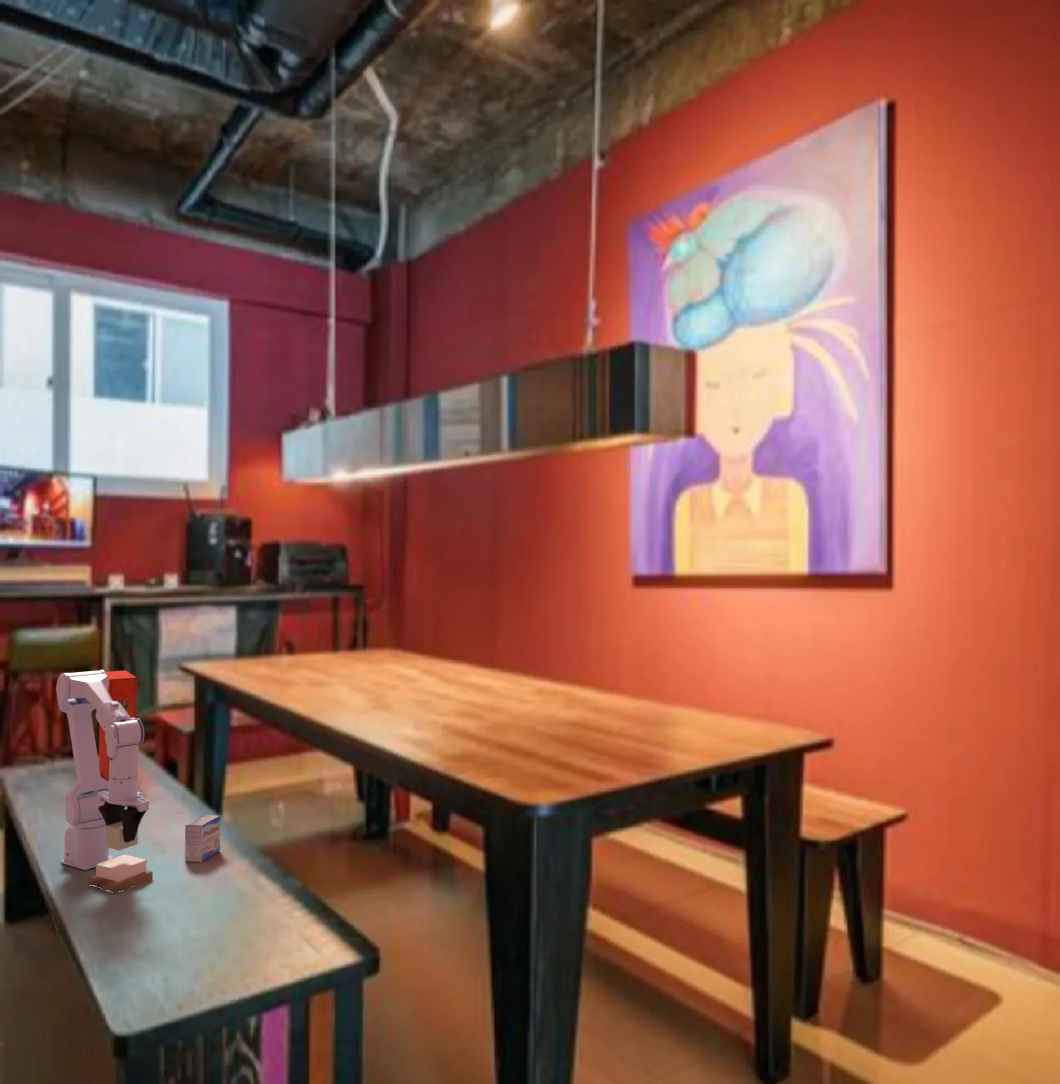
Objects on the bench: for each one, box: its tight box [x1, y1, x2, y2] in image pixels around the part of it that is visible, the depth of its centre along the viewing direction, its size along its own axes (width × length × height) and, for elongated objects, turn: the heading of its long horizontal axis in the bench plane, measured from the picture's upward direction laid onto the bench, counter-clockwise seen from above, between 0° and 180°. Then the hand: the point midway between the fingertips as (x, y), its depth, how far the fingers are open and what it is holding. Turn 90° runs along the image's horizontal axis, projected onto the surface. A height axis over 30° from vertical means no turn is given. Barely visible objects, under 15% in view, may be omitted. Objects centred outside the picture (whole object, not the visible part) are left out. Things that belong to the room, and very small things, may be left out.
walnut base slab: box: [87, 868, 154, 894], centre depth 182 cm, size 9×9×2 cm
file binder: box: [98, 670, 138, 782], centre depth 266 cm, size 8×17×32 cm, turn 36°
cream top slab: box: [95, 854, 147, 882], centre depth 182 cm, size 7×7×2 cm
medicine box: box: [184, 814, 222, 863], centre depth 198 cm, size 8×4×9 cm, turn 168°
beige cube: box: [106, 821, 139, 851], centre depth 182 cm, size 4×4×4 cm
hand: (122, 839), depth 182 cm, fingers closed on beige cube, 4 cm apart
